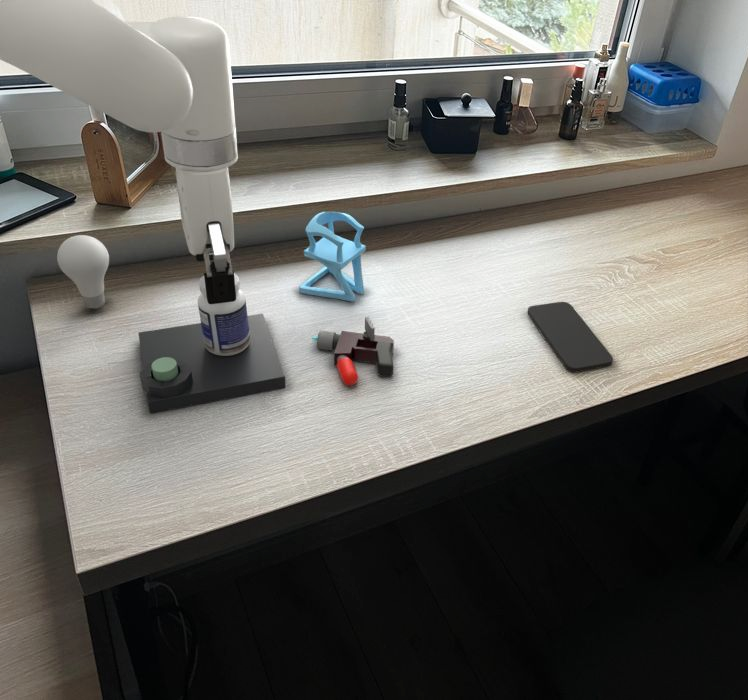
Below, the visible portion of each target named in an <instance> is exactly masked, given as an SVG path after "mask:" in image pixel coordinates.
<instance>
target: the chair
mask: <svg viewBox="0 0 748 700" xmlns="http://www.w3.org/2000/svg"><path fill="white" fill-rule="evenodd" d="M338 221H341V222H345V223H347V224H349V225H350V226H351V227H352V228H354V229H355V230H356V234H355V236H354V239H353V240H349V239H346V238H344V237H341V236H339V235H337V234H335V230H334V222H338ZM325 224H327V227H326V226H325ZM364 229H365V226H363V225H362V224H360V223H359V222H358V221H357V220H356V219H355V218H354V217H353V216H351V215H350V214H349V213H344V212H339V211H322V212H319V213H317V214H316V215H314V216H313V217H312V219H311V220H310V221H309V222H308V224H307V226H306V227H305V233H306V235H307V238H308V241H309V246H308V247H307V248H306V249H304V250H303V255H304V257H306V258H308V259H311V260H314V261H316V262H318V263H320V264H322V265H323V266H324V267H322V268H321V269H320V270H318V271H317V272H316V273H314V274H313V275H312V276H311V277H309V278H308V279H306V281H304V282H303V283H302V284H300V285H299V286H298V288H299V293H302V294H304V295H305V294H306V295H309V296H311V295H312V296H317V297H324V298H331V299H337V300H342V301H347V302H353V303H354V302H355V301H356V295H355V292H356V293H357V294H361V295H362V294H365V287H364V286H365V285H364V279H363V278H364V277H363V270H362V254H363V253H365V252H366V251H367V249H366V248H367V247H366V244H363V243H361V236H362V233H363V230H364ZM314 237H322V238H320V239H319V240H318V241H316V239H315V238H314ZM350 263H351V265H352V271H353V279H352V278H350V276H347V275H346V274H345V273H343V272H342V270H343V269H344V268H346V267H347V266H348V265H349V264H350ZM328 273H329V274H331V275H333V276H334V278H335V280H336V281H337V282H338V284H339V286H340V287H341V289H342V290H338V289H329V288H322V287H315V286H312V285H314V284H315V283H316V282H318V281H319V280H320V279H321V278H322V277H324V276H325V275H326V274H328Z"/></svg>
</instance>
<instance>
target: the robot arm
mask: <svg viewBox="0 0 748 700" xmlns="http://www.w3.org/2000/svg"><path fill="white" fill-rule="evenodd" d="M0 61H2V62H5V63H6V64H9V65H11V66H12V67H15V68H17V69H19V70H21V71H23V72H25V73H27V74H29V75H31V76H33V77H34V78H36V79H39V80H40V81H41V82H44V83H46V84H47V85H50V86H51V87H53V88H55V89H57V90H58V91H61V92H63V93H64V94H66V95H68V96H71V97H72V98H74V99H75V100H77V101H80V102H82V103H84V104H86V105H88V106H89V107H91V108H93V109H95V110H97V111H99V112H101V113H103V114H105V115H107V116H108V117H111V119H113V120H116V121H118V122H119V123H122V124H124V125H126V126H128V127H130V128H132V129H134V130H137V131H139V132H145V133H160V136H161V140H162V141H161V142H162V149H163V155H164V160H165V162H166V163H167V164H169V165H170V166H171V167H173V168H175V179H176V186H177V193H178V194H177V195H178V202H179V208H180V209H179V212H180V218H181V225H182V231H183V235H184V238H185V242H186V246H187V249H188V252H189V253H190V254H191V255H192V256H195V260H196V261H197V262H204V268H205V272H203V276H204V279H205V287H206V295H207V301H208V303H209V304H218V303H226V302H233V301H235V300H236V290H235V279H234V273H235V271H234V269H233V266H232V260H231V254H230V252H232V251H233V250H234V249H235V230H234V229H235V227H234V212H233V200H232V191H231V181H230V172H229V167H231V166H233V165H235V164H236V163H237V161H238V159H239V152H238V139H237V127H236V115H235V102H234V101H235V99H234V89H233V88H234V87H233V78H232V63H231V51H230V43H229V37H228V35H227V33H226V31H225V30H224V28H223V27H222V26H221V25H219V24H218V23H216V22H214V21H212V20H209V19H206V18H202V17H197V16H196V17H195V16H170V17H165V18H161V19H158V20H156V21H128V20H127V21H126V20H123V19H122V18H120V17H119V16H117V15H116V14H114V13H112V12H111V11H109V10H108V9H106V8H104V6H102V5H100V4H98V3H97V2H95V1H93V0H0Z"/></svg>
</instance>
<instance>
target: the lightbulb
mask: <svg viewBox="0 0 748 700" xmlns="http://www.w3.org/2000/svg"><path fill="white" fill-rule="evenodd" d="M56 254H57V255H56V260H57V264H58V267H59V268H60V270H61V271H62V273H63V274H64V275H66V277H68V278H69V279H70V280H71V281H72V282H73V283H74V284H75V286H76V288H77V289H78V292H79V294H80V295H81V296H82V299H83V301H84V304H85V306H86V308H89V309H95V310H96V309H99V308H101V307H102V306H104V305H105V303H106V297H105V280H104V279H105V275H106V272H107V271H108V268H109V265H110V255H109V251H108V249H107V247H106V246H105V245H104V243H103V242H101V241H100V240H99V239H98V238H95V237H93V236H90V235H85V234H78V235H73V236H70V237H68V238H66V240H64V241H63V242H62V243H61V244H60V245H59V248H58V249H57V253H56Z"/></svg>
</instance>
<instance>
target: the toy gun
mask: <svg viewBox="0 0 748 700" xmlns="http://www.w3.org/2000/svg"><path fill="white" fill-rule="evenodd" d="M311 339H312V340H314V341H316V348H317V349H318V350H329V351H334V352H333V366H336V368H337V370H338V373H339V376H340V378H341V381H342V383H343V384H344V385H347V386H353V385H355V384H356V383H357V382H358V381H359V375H358V372H357V369H356V366H355V365H354V363H353V361H355V362H363V363H372V364H375V366H376V372H377V375H378V376H381V377H389V378H391V377H393V376H394V363H393V355H394V346H395V345H394V344H395V340H394V339H393V338H392V337H390V336H386V335H378V334H375V326H374V324H373V322H372V320H371V319H370V317H369V316H364V331H363V333H362V332H356V331H355V332H354V331H346V330H341V332H340V333H337V332H336V331H329V330H318V332H317V336H314V337H311Z"/></svg>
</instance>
